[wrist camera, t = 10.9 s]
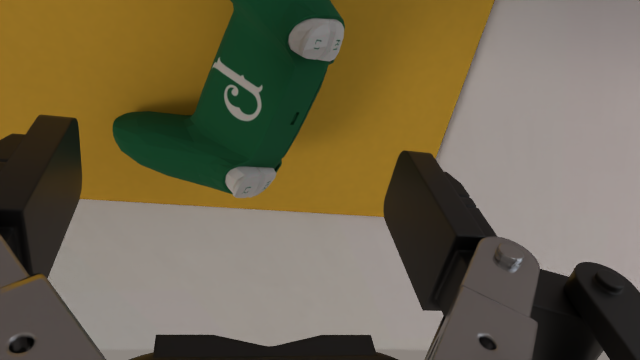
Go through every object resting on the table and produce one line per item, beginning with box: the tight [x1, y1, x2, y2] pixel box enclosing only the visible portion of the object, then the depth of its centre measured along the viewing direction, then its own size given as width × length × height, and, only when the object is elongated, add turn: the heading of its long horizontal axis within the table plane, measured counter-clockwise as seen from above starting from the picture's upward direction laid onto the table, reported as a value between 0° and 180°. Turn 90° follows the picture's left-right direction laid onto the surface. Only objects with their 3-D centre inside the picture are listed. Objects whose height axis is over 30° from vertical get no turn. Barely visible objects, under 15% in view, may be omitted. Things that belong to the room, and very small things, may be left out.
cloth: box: [0, 0, 495, 217], centre depth 19 cm, size 20×14×1 cm
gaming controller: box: [112, 0, 345, 198], centre depth 17 cm, size 9×4×6 cm
